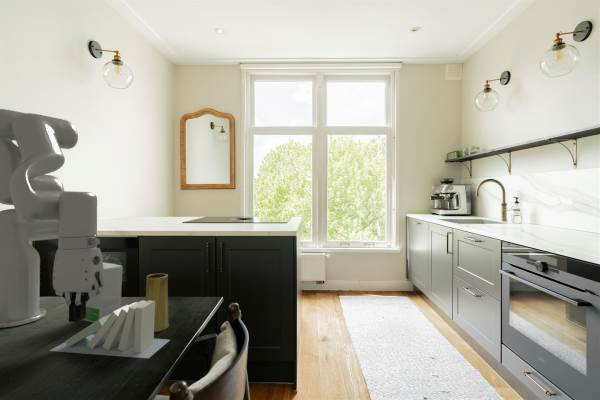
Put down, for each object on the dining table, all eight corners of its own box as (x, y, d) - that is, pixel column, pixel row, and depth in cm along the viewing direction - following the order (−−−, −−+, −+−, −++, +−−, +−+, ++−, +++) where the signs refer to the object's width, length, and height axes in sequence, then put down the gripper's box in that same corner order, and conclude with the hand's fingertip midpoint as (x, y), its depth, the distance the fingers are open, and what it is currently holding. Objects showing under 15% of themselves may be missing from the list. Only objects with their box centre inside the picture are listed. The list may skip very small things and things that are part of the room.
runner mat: (49, 352, 70) (49, 350, 70) (81, 335, 79) (81, 333, 79) (148, 360, 67) (148, 358, 67) (170, 341, 76) (170, 339, 76)
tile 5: (133, 352, 70) (135, 307, 69) (147, 341, 74) (148, 300, 74) (140, 352, 69) (142, 308, 69) (153, 342, 74) (155, 301, 74)
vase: (159, 334, 80) (159, 279, 80) (138, 332, 81) (139, 277, 81) (173, 325, 86) (174, 273, 86) (153, 323, 87) (154, 272, 87)
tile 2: (87, 344, 71) (112, 311, 70) (103, 335, 76) (127, 304, 75) (92, 349, 71) (117, 316, 70) (108, 339, 76) (132, 308, 75)
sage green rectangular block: (65, 341, 72) (98, 319, 71) (82, 332, 77) (114, 311, 76) (68, 347, 71) (101, 325, 70) (85, 337, 76) (117, 317, 75)
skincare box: (80, 320, 88) (81, 266, 88) (103, 313, 94) (103, 261, 94) (100, 325, 85) (101, 268, 85) (122, 317, 91) (123, 264, 91)
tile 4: (117, 349, 70) (128, 307, 70) (132, 339, 75) (142, 300, 75) (124, 351, 70) (135, 309, 70) (138, 341, 75) (148, 302, 74)
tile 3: (102, 346, 70) (121, 308, 70) (117, 337, 75) (136, 301, 75) (108, 350, 70) (127, 312, 70) (123, 340, 75) (141, 305, 75)
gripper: (118, 242, 77) (117, 316, 77) (63, 240, 79) (63, 313, 78) (94, 246, 69) (93, 328, 69) (35, 244, 71) (34, 324, 71)
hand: (77, 320), depth 74 cm, fingers closed
